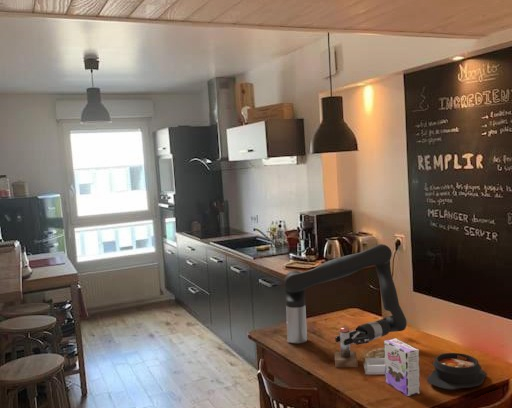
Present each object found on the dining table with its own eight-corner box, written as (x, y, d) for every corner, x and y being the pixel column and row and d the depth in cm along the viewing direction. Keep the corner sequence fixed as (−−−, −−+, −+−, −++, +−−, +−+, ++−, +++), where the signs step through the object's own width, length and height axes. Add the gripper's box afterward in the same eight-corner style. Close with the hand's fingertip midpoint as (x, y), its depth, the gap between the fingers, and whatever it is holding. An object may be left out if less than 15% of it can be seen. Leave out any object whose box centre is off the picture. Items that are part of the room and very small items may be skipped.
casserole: (456, 365, 210) (456, 345, 209) (499, 380, 194) (499, 358, 193) (414, 382, 196) (414, 360, 196) (457, 400, 181) (456, 376, 180)
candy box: (384, 382, 198) (383, 340, 197) (397, 379, 200) (396, 337, 199) (407, 396, 185) (405, 352, 184) (420, 393, 187) (419, 349, 186)
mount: (335, 367, 214) (335, 360, 214) (334, 358, 223) (334, 352, 223) (357, 366, 213) (357, 359, 213) (355, 358, 222) (355, 351, 222)
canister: (341, 357, 216) (339, 329, 215) (340, 354, 220) (339, 326, 219) (350, 357, 216) (349, 329, 215) (350, 354, 220) (348, 326, 219)
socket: (365, 374, 206) (365, 366, 205) (363, 364, 216) (363, 357, 215) (391, 374, 205) (391, 366, 204) (387, 364, 215) (387, 356, 214)
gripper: (356, 319, 231) (328, 328, 222) (381, 327, 219) (351, 336, 210) (357, 336, 232) (328, 345, 222) (381, 344, 220) (352, 354, 210)
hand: (340, 341), depth 216 cm, fingers open, 4 cm apart
